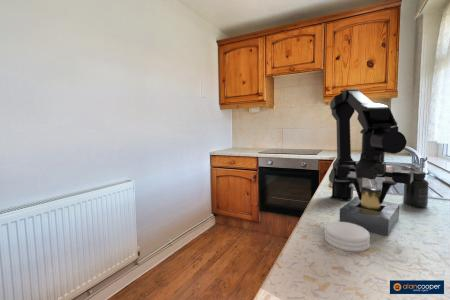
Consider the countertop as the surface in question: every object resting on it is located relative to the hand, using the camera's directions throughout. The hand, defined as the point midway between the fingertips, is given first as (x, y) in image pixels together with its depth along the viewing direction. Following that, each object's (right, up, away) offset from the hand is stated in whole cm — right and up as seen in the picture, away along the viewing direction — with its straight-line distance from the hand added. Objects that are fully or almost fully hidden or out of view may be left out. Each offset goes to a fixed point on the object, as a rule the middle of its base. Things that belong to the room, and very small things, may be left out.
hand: (370, 201), depth 70 cm
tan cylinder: (0, -6, +1) cm, 6 cm away
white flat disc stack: (-13, -8, -11) cm, 19 cm away
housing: (0, -6, +1) cm, 6 cm away
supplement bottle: (+24, -4, +13) cm, 28 cm away
